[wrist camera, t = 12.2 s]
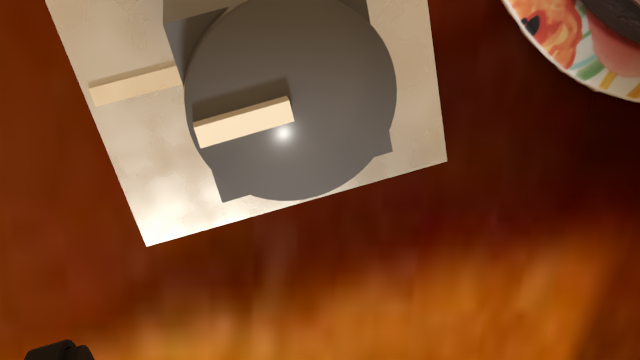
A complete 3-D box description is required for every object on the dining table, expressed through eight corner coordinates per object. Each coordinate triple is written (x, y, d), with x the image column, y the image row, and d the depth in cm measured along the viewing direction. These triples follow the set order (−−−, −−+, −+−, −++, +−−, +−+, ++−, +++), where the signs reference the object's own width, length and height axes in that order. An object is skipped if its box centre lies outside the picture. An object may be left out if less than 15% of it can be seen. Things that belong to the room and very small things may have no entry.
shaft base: (391, -185, 24) (462, -213, 18) (436, 149, 31) (498, 213, 25) (15, -98, 23) (-50, -96, 17) (148, 231, 30) (137, 319, 23)
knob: (321, -50, 24) (383, -32, 17) (353, 105, 27) (415, 173, 20) (156, -8, 23) (153, 30, 17) (207, 148, 27) (222, 233, 20)
